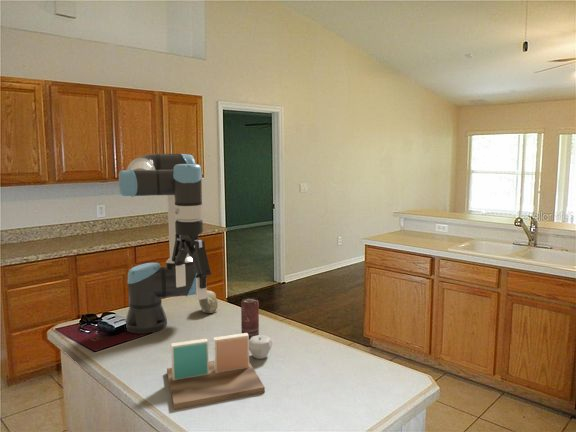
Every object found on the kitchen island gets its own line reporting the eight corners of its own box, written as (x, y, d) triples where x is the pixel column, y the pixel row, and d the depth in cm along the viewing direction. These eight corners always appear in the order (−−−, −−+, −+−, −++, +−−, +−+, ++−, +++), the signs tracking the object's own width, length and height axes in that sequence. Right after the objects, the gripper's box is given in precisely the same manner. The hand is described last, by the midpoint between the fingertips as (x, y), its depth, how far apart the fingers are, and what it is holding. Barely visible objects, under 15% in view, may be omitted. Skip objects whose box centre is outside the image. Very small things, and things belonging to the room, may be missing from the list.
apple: (273, 361, 138) (273, 341, 137) (248, 363, 137) (248, 343, 136) (270, 350, 146) (270, 331, 145) (246, 352, 144) (246, 332, 143)
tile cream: (214, 369, 129) (213, 337, 128) (247, 364, 133) (247, 332, 131) (216, 373, 127) (215, 340, 125) (249, 368, 130) (249, 335, 129)
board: (167, 373, 130) (166, 368, 130) (245, 360, 138) (245, 355, 138) (174, 409, 112) (173, 404, 111) (264, 392, 120) (264, 387, 120)
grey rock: (209, 320, 178) (206, 301, 173) (194, 313, 182) (190, 294, 177) (224, 307, 185) (222, 288, 180) (209, 300, 189) (207, 282, 184)
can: (257, 342, 152) (256, 303, 150) (239, 340, 153) (238, 301, 151) (261, 335, 158) (261, 297, 156) (244, 333, 159) (244, 296, 157)
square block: (172, 376, 125) (171, 343, 124) (207, 371, 128) (206, 338, 127) (173, 381, 123) (171, 347, 121) (209, 375, 126) (208, 341, 125)
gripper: (159, 215, 131) (161, 283, 134) (196, 227, 111) (198, 307, 115) (182, 212, 135) (184, 279, 139) (222, 224, 116) (223, 301, 119)
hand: (190, 292), depth 127 cm, fingers open, 13 cm apart
